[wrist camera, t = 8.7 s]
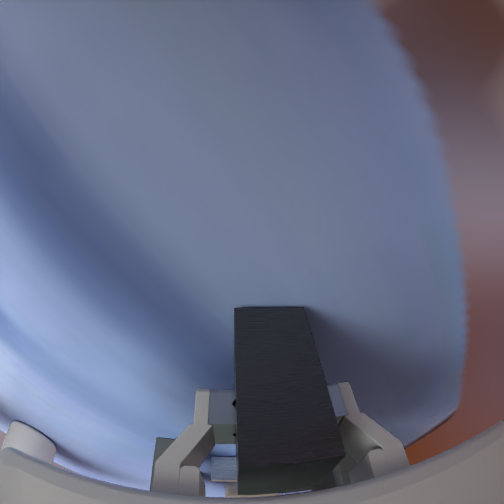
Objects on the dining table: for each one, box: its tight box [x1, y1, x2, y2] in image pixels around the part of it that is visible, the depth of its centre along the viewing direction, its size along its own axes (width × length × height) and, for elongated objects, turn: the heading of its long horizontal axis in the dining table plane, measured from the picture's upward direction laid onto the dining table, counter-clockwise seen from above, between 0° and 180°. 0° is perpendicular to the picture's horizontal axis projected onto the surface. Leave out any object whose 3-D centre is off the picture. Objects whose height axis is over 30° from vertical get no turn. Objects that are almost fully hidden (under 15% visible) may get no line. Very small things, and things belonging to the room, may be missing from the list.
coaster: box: [225, 482, 278, 497], centre depth 24 cm, size 6×6×2 cm
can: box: [1, 421, 56, 464], centre depth 15 cm, size 6×6×12 cm
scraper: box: [211, 307, 346, 495], centre depth 13 cm, size 18×7×7 cm, turn 177°
